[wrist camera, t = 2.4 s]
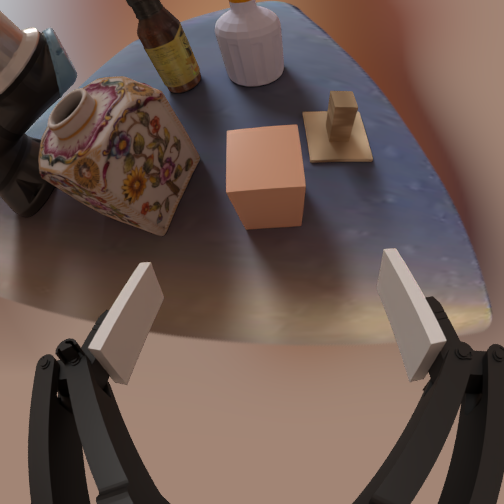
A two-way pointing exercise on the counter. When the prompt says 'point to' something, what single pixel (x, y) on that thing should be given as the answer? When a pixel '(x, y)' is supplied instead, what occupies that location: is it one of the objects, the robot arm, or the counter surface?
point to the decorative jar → (119, 152)
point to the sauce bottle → (166, 45)
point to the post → (337, 131)
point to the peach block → (266, 176)
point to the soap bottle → (250, 43)
